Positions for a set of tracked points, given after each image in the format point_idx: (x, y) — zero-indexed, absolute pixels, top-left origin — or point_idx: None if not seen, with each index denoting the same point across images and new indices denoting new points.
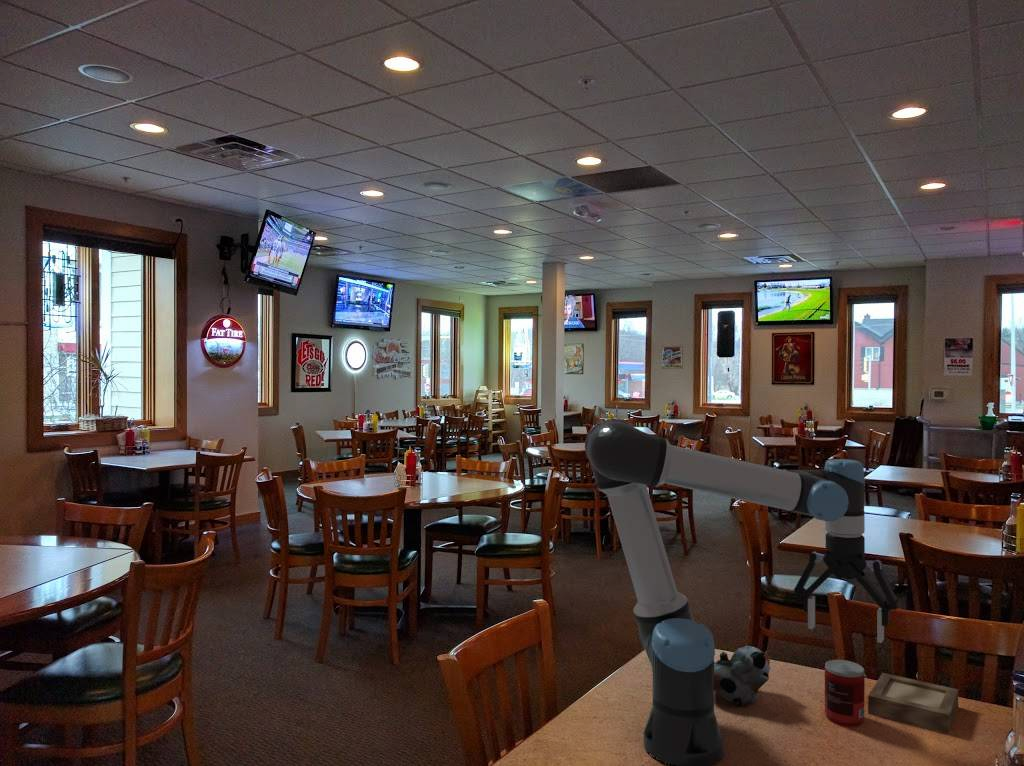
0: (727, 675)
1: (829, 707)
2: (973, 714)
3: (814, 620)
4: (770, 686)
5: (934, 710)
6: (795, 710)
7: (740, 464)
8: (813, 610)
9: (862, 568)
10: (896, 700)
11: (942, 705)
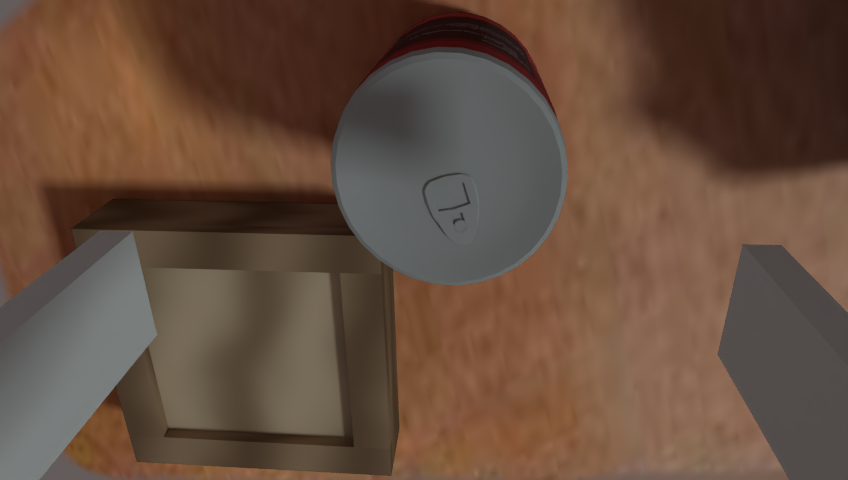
0: None
1: (511, 37)
2: (113, 388)
3: (744, 375)
4: (812, 233)
5: None
6: (669, 46)
7: None
8: (810, 431)
9: None
10: (270, 251)
11: None
